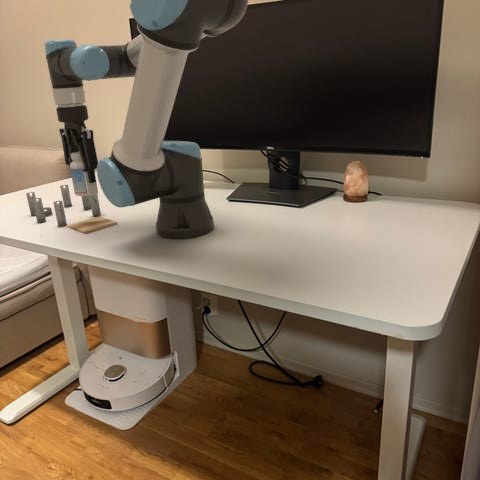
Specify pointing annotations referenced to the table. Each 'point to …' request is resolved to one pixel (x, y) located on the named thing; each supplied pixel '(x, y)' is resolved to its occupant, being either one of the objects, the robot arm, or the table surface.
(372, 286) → the table surface
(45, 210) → the steel nut
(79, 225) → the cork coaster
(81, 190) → the pill bottle
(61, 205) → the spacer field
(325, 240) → the table surface
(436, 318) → the table surface
